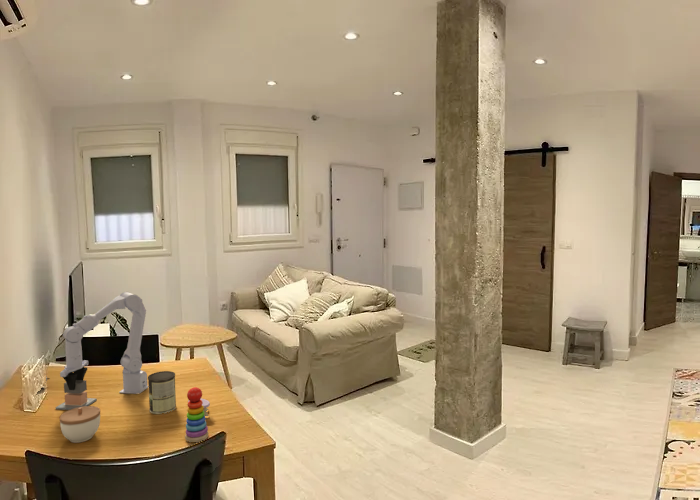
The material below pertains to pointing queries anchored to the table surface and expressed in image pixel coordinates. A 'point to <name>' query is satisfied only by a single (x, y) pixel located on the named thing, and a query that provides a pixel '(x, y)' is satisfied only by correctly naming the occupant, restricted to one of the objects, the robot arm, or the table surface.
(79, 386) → the charcoal brick
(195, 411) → the stacking toy
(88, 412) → the lidded bowl
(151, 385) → the coffee can
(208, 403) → the toy table
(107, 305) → the robot arm
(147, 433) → the table surface
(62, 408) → the slate baseplate
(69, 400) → the terracotta brick
